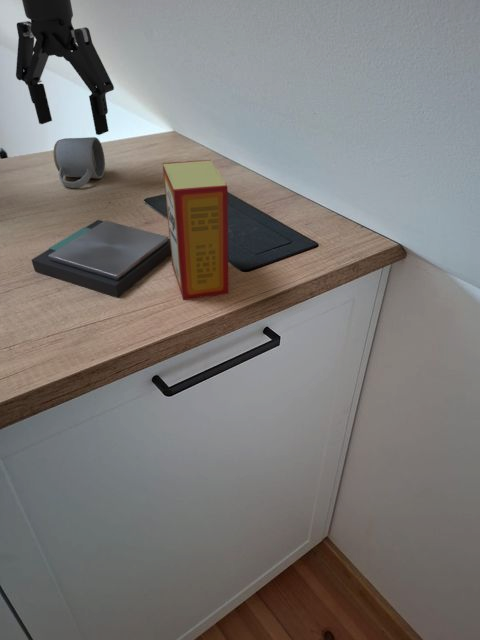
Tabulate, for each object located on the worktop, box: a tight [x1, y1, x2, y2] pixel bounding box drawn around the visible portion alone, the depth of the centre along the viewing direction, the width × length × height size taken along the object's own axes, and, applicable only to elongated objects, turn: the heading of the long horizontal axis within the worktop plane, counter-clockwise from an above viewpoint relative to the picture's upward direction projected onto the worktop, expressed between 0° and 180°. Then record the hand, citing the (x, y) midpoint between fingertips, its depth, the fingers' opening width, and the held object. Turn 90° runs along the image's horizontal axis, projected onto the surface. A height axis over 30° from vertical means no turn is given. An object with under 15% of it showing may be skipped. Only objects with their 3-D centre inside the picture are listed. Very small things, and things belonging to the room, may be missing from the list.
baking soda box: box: [162, 159, 229, 300], centre depth 67 cm, size 10×6×16 cm
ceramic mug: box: [53, 136, 106, 189], centre depth 97 cm, size 11×8×8 cm
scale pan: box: [48, 220, 169, 280], centre depth 74 cm, size 12×13×1 cm
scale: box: [31, 219, 171, 298], centre depth 75 cm, size 15×15×2 cm
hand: (73, 127), depth 93 cm, fingers open, 13 cm apart
